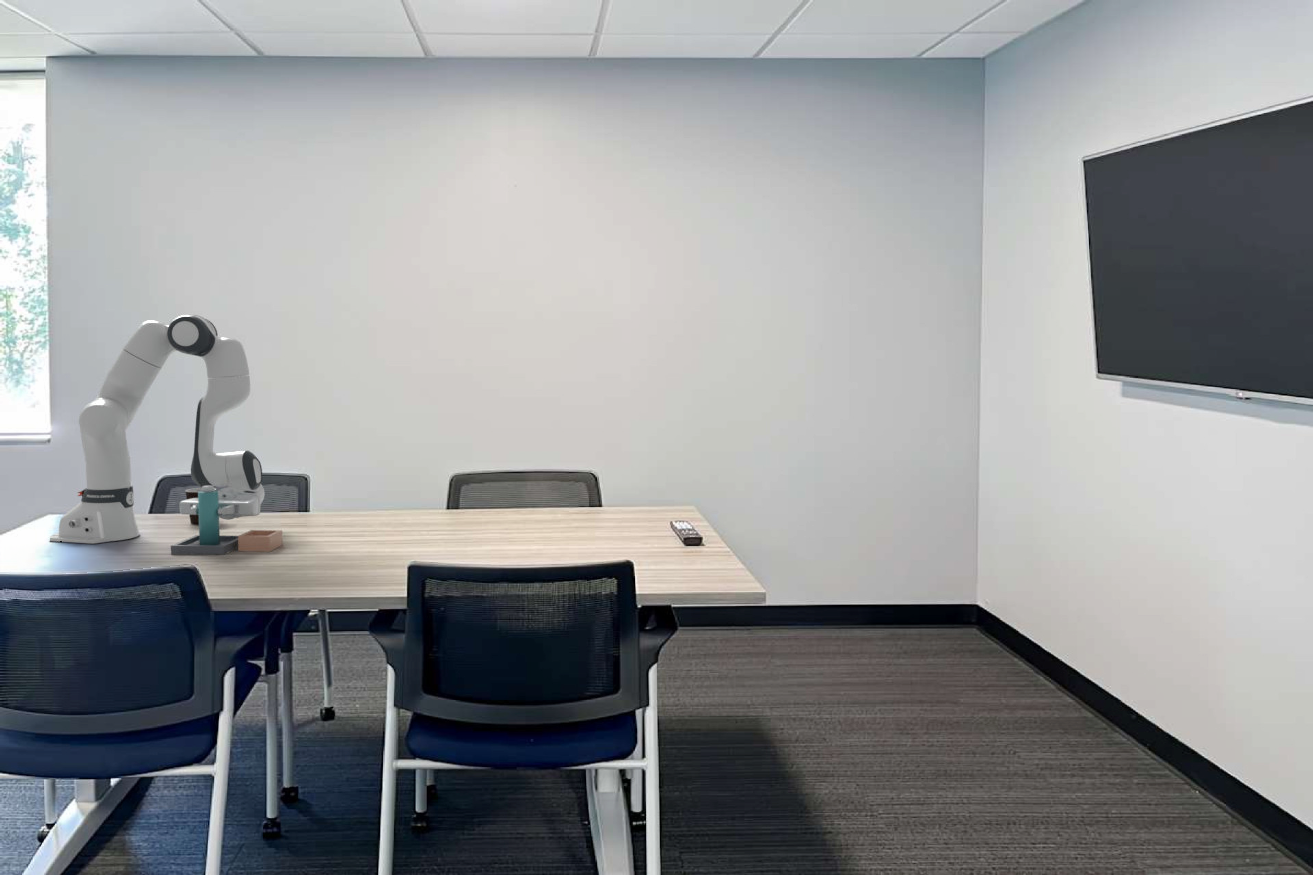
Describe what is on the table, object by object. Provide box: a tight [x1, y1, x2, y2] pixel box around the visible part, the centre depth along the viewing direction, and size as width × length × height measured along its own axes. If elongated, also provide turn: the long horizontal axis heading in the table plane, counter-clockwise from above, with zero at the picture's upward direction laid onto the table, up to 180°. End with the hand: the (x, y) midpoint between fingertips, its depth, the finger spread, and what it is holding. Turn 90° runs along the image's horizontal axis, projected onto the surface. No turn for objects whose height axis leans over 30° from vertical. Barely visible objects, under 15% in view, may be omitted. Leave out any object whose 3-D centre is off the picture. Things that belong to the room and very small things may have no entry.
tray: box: [170, 534, 239, 555], centre depth 282 cm, size 14×14×2 cm
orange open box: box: [237, 529, 283, 552], centre depth 284 cm, size 8×8×4 cm
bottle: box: [198, 486, 221, 545], centre depth 282 cm, size 5×5×16 cm
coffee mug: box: [184, 487, 217, 526], centre depth 320 cm, size 12×9×10 cm
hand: (206, 511), depth 280 cm, fingers open, 6 cm apart
